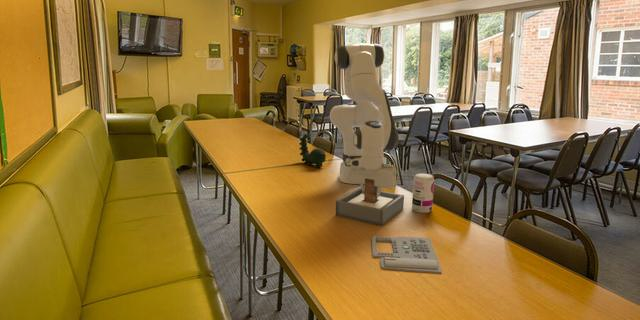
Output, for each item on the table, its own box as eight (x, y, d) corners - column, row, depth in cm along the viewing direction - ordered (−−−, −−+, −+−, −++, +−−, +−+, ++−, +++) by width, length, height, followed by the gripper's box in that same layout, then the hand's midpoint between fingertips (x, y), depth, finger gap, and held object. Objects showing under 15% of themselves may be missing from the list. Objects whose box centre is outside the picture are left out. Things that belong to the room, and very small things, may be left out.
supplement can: (432, 208, 172) (435, 173, 168) (431, 214, 164) (433, 179, 161) (413, 205, 174) (415, 172, 171) (410, 212, 167) (413, 177, 163)
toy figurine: (296, 165, 248) (318, 170, 227) (294, 134, 245) (317, 136, 224) (309, 163, 253) (332, 168, 233) (308, 132, 250) (331, 135, 230)
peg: (368, 204, 168) (369, 176, 166) (376, 205, 166) (378, 177, 164) (363, 206, 165) (364, 178, 162) (372, 208, 163) (374, 180, 160)
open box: (360, 200, 181) (360, 187, 179) (403, 208, 170) (404, 195, 169) (335, 215, 162) (336, 201, 161) (381, 226, 152) (382, 210, 151)
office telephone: (443, 267, 118) (373, 263, 119) (442, 275, 118) (373, 271, 120) (429, 234, 140) (371, 231, 142) (429, 241, 141) (371, 238, 143)
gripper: (399, 164, 159) (398, 198, 162) (353, 157, 169) (352, 189, 172) (393, 167, 153) (391, 202, 157) (346, 160, 164) (345, 193, 167)
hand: (370, 195), depth 165 cm, fingers closed on peg, 4 cm apart
